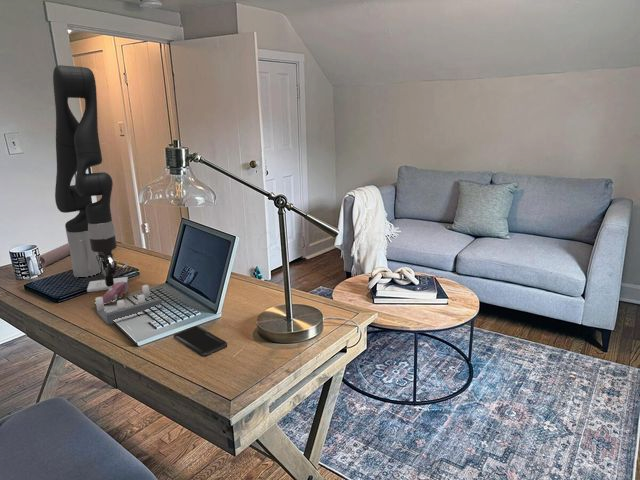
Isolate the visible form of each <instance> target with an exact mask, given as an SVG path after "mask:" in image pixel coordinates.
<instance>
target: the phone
mask: <svg viewBox="0 0 640 480" xmlns="http://www.w3.org/2000/svg"><path fill="white" fill-rule="evenodd" d="M173 339H174V340H175V341H176V342H178V343H180V344H181V345H183V346H184V347H186V348H187V349H189V350H191V351H192V352H193V353H195V354H197V355H198V356H200V357H204V358H205V357H208V356H210V355H212V354H215V353H216V352H219V351H222V350H224V349H225V348H227V347H228V342H227V341H226V340H224V339H222V338H220V337H218V336H217V335H215V334H213V333H212V332H210V331H207V330H206V329H204V328H202V327H201V326H199V325H195V326H192V327H189V328H186V329H184V330H182V331H178V332H176V333H174V334H173Z"/></svg>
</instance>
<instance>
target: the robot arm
mask: <svg viewBox="0 0 640 480" xmlns="http://www.w3.org/2000/svg"><path fill="white" fill-rule="evenodd" d="M52 81H53V83H52V84H53V93H54V106H55V151H56V152H55V155H56V156H55V157H56V175H55V188H54V189H55V191H54V200H55V204H56V208H57V210H58V211H59V212H61V213H67V214H68V213H74V212H75V213H76V212H78V213H77V215H76V216H74V217H73V218H72V219H69V220H67V221H66V222H65V225H64V226H65V232H66V238H67V243H68V245H69V250H70V255H69V256H70V261H71V267H72V273H73V276H74V277H75V278H78V277H86V278H89V277H88V276H91V277H94V276H93V275H95V276H97V275H96V274H98V273H99V274H101V273H102V275H103V276H104V280H105V283H106V285H107V286H108V287H109V286H112V285H113V284H114V281H113V279H114V275H115V274H116V271H117V265H118V264H117V262H116V261H114V259H115V256H114V254H113V253H112V251H113V250H115V249H116V248H117V247H118V245H117V239H116V233H115V228H114V223H113V218H112V212H111V199H112V192H113V185H114V182H113V179H112V177H111V175H110V174H109V173H107V172H106V171H105V172H103V171H102V172H92V173H87V170H88V169H90V168H92V167H97V166H99V165H100V164H102V163H103V157H102V151H101V150H102V149H101V143H100V138H99V128H98V99H97V97H98V96H97V95H98V94H97V84H96V78H95V74H94V72H93V70H91V68H89V67H85V66H73V65H72V66H71V65H63V64H62V65H61V64H60V65H59V64H58V65H55V66H54V69H53V73H52ZM69 98H70V99H71V98H72V99H84V103H85V104H84V112H83V114H82V117H81V119H80V121H78V120H77V118H76V117H75V115H74V114H73V112H72V110H71V108H70V105H69ZM74 176H75V182H74V184H71V183H72V180H73V178H74ZM95 196H96V197H97V196H101V198H100V199H99V200H97V201H94V202H93V199H92V197H95ZM100 272H101V273H100ZM99 274H98V275H99Z"/></svg>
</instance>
